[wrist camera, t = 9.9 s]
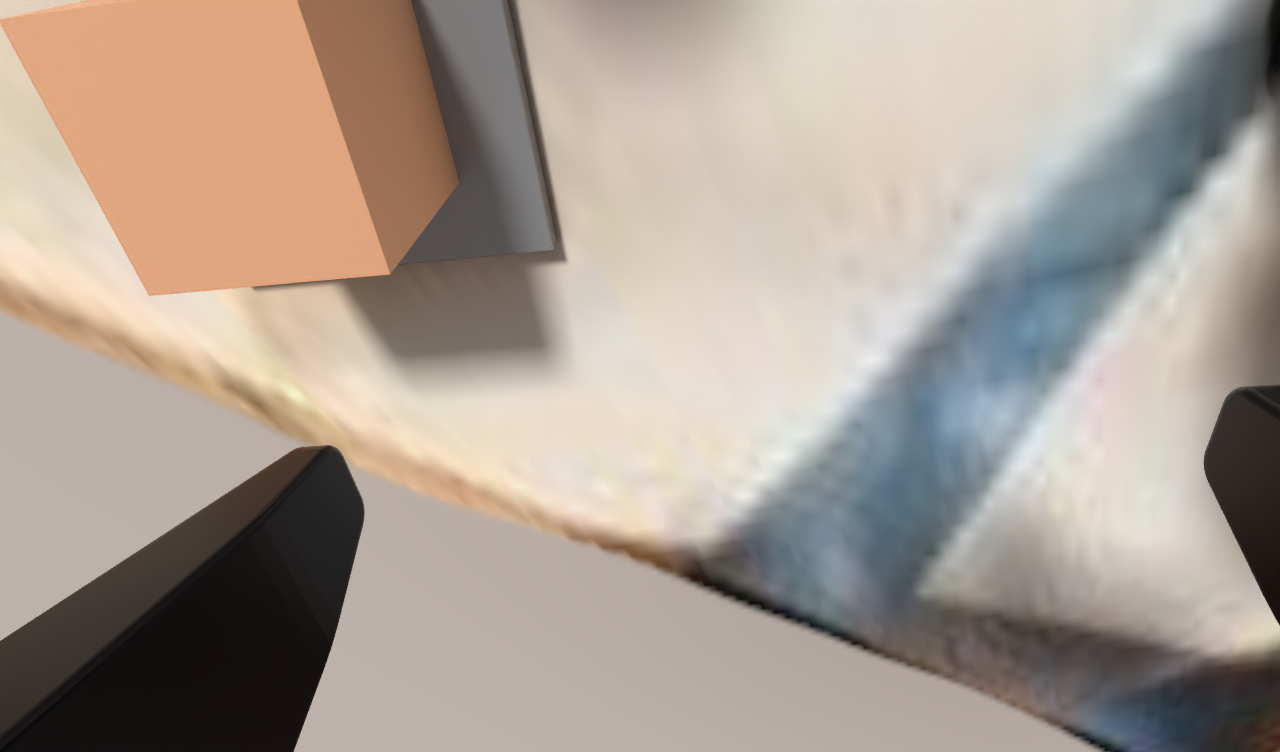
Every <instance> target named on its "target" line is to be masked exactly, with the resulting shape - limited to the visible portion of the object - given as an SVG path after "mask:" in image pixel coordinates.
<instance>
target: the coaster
mask: <svg viewBox="0 0 1280 752" xmlns="http://www.w3.org/2000/svg"><path fill="white" fill-rule="evenodd" d="M411 2H412V5H413V9H414V13H415V17H416V21H417V24H418V28H419V32H420V36H421V39H422V43H423V47H424V51H425V55H426V58H427V62H428V66H429V70H430V73H431V77H432V81H433V85H434V89H435V92H436V96H437V100H438V104H439V107H440V111H441V115H442V119H443V123H444V126H445V130H446V134H447V138H448V142H449V145H450V149H451V153H452V157H453V160H454V164H455V168H456V172H457V176H458V179H459V184H458V185H457V187H456V188H455V189H454V191H453V192H452V193H451V195H450V196H449V197H448V198H447V200H446V201H445V202H444V204H443V205H442V206H441V208H440V209H439V210H438V212H437V213H436V214H435V216H434V217H433V218H432V220H431V221H430V222H429V224H428V225H427V226H426V228H425V229H424V230H423V232H422V233H421V234H420V236H419V237H418V238H417V240H416V241H415V242H414V244H413V245H412V246H411V248H410V249H409V250H408V252H407V253H406V254H405V256H404V257H403V258H402V260H401V261H400V262H399V264H408V263H419V262H430V261H440V260H451V259H462V258H473V257H484V256H494V255H505V254H516V253H527V252H537V251H548V250H553V248H554V246H555V243H556V236H555V231H554V226H553V221H552V216H551V211H550V206H549V201H548V196H547V191H546V187H545V182H544V177H543V172H542V167H541V162H540V157H539V152H538V147H537V142H536V137H535V132H534V127H533V122H532V117H531V112H530V108H529V103H528V98H527V93H526V88H525V83H524V78H523V73H522V68H521V63H520V58H519V53H518V48H517V43H516V38H515V33H514V29H513V24H512V19H511V14H510V9H509V4H508V0H411Z"/></svg>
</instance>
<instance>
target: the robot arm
mask: <svg viewBox="0 0 1280 752" xmlns="http://www.w3.org/2000/svg"><path fill="white" fill-rule="evenodd" d="M1273 65H1274V67H1275V70H1276V72H1278V73H1279V74H1280V39H1279V42H1278V45H1277V48H1276V51H1275V54H1274V62H1273ZM1204 470H1205V474H1206V477H1207V480H1208V482H1209V484H1210V487H1211V489H1212V491H1213V493H1214V495H1215V497H1216V499H1217V501H1218V503H1219V505H1220V507H1221V509H1222V511H1223V513H1224V515H1225V517H1226V519H1227V522H1228V524H1229V526H1230V528H1231V530H1232V532H1233V534H1234V536H1235V538H1236V540H1237V542H1238V544H1239V546H1240V548H1241V550H1242V552H1243V554H1244V556H1245V559H1246V561H1247V563H1248V565H1249V567H1250V569H1251V571H1252V573H1253V575H1254V577H1255V579H1256V581H1257V583H1258V585H1259V587H1260V589H1261V591H1262V594H1263V596H1264V597H1265V599H1266V601H1267V603H1268V605H1269V607H1270V609H1271V611H1272V612H1273V614H1274V616H1275V618H1276V620H1277V622H1278V623H1279V625H1280V385H1264V386H1249V387H1240V388H1237V389H1235V390H1233V391H1232V392H1231V393H1230V394H1229V395H1228V396H1227V397H1226V399H1225V401H1224V403H1223V406H1222V408H1221V411H1220V414H1219V416H1218V419H1217V422H1216V424H1215V427H1214V430H1213V432H1212V435H1211V438H1210V440H1209V443H1208V446H1207V448H1206V451H1205V455H1204ZM363 522H364V504H363V500H362V497H361V495H360V492H359V490H358V488H357V486H356V484H355V481H354V479H353V477H352V475H351V472H350V470H349V468H348V466H347V463H346V461H345V459H344V457H343V455H342V453H341V452H340V451H339V450H338V449H337V448H336V447H333V446H330V445H325V446H309V447H300V448H296V449H294V450H292V451H291V452H289V453H288V454H286V455H285V456H283V457H282V458H280V459H279V460H277V461H275V462H274V463H272V464H271V465H269V466H268V467H266V468H265V469H263V470H262V471H260V472H259V473H257V474H256V475H254V476H252V477H251V478H249V479H248V480H246V481H245V482H243V483H242V484H240V485H239V486H237V487H236V488H234V489H233V490H231V491H230V492H228V493H227V494H225V495H223V496H222V497H220V498H219V499H217V500H216V501H214V502H213V503H211V504H210V505H208V506H207V507H205V508H204V509H202V510H200V511H199V512H197V513H196V514H194V515H193V516H191V517H190V518H188V519H187V520H185V521H184V522H182V523H181V524H179V525H177V526H176V527H174V528H173V529H171V530H170V531H168V532H167V533H165V534H164V535H162V536H160V537H159V538H158V539H156V540H154V541H153V542H151V543H150V544H148V545H147V546H145V547H144V548H142V549H141V550H139V551H138V552H136V553H134V554H133V555H131V556H130V557H128V558H127V559H125V560H124V561H122V562H121V563H119V564H118V565H116V566H114V567H113V568H111V569H110V570H108V571H107V572H106V573H104V574H102V575H101V576H99V577H98V578H96V579H95V580H93V581H91V582H90V583H88V584H87V585H85V586H84V587H82V588H81V589H79V590H78V591H76V592H75V593H73V594H72V595H70V596H69V597H67V598H66V599H64V600H62V601H61V602H59V603H58V604H56V605H55V606H53V607H52V608H50V609H49V610H47V611H46V612H44V613H43V614H41V615H39V616H38V617H36V618H35V619H33V620H32V621H30V622H29V623H27V624H26V625H24V626H23V627H21V628H19V629H18V630H16V631H15V632H13V633H12V634H10V635H9V636H7V637H6V638H4V639H3V640H1V641H0V752H294V749H295V746H296V744H297V741H298V738H299V735H300V733H301V730H302V727H303V725H304V722H305V719H306V716H307V714H308V711H309V708H310V705H311V703H312V700H313V697H314V694H315V692H316V689H317V687H318V684H319V681H320V678H321V676H322V673H323V670H324V667H325V664H326V662H327V659H328V656H329V653H330V650H331V647H332V644H333V640H334V637H335V633H336V629H337V626H338V622H339V618H340V614H341V610H342V606H343V602H344V598H345V594H346V591H347V587H348V582H349V579H350V575H351V571H352V567H353V563H354V559H355V555H356V551H357V547H358V542H359V539H360V534H361V531H362V527H363Z"/></svg>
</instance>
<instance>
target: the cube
mask: <svg viewBox="0 0 1280 752" xmlns="http://www.w3.org/2000/svg"><path fill="white" fill-rule="evenodd" d="M0 24H1V26H2V28H3V30H4V32H5V33H6V35H7V37H8V39H9V41H10V42H11V44H12V46H13V48H14V50H15V52H16V53H17V55H18V57H19V59H20V61H21V63H22V64H23V66H24V68H25V70H26V72H27V74H28V75H29V77H30V79H31V81H32V83H33V85H34V86H35V88H36V90H37V92H38V94H39V95H40V97H41V99H42V101H43V103H44V105H45V106H46V108H47V110H48V112H49V114H50V116H51V117H52V119H53V121H54V123H55V125H56V127H57V128H58V130H59V132H60V134H61V136H62V138H63V139H64V141H65V143H66V145H67V147H68V148H69V150H70V152H71V154H72V156H73V158H74V159H75V161H76V163H77V165H78V167H79V169H80V170H81V172H82V174H83V176H84V178H85V180H86V181H87V183H88V185H89V187H90V189H91V191H92V192H93V194H94V196H95V198H96V200H97V201H98V203H99V205H100V207H101V209H102V211H103V212H104V214H105V216H106V218H107V220H108V222H109V223H110V225H111V227H112V229H113V231H114V233H115V234H116V236H117V238H118V240H119V242H120V244H121V245H122V247H123V249H124V251H125V253H126V254H127V256H128V258H129V260H130V262H131V264H132V265H133V267H134V269H135V271H136V273H137V275H138V276H139V278H140V280H141V282H142V284H143V286H144V287H145V289H146V291H147V293H148V295H149V296H152V295H163V294H175V293H186V292H197V291H209V290H220V289H231V288H242V287H254V286H265V285H276V284H288V283H299V282H310V281H321V280H333V279H344V278H355V277H367V276H378V275H389V274H391V273H392V272H393V270H394V269H395V268H396V266H397V265H398V264H399V262H400V261H401V260H402V258H403V257H404V256H405V254H406V253H407V252H408V250H409V249H410V248H411V246H412V245H413V244H414V242H415V241H416V240H417V238H418V237H419V236H420V234H421V233H422V232H423V230H424V229H425V228H426V226H427V225H428V224H429V222H430V221H431V220H432V218H433V217H434V216H435V214H436V213H437V212H438V210H439V209H440V208H441V206H442V205H443V204H444V202H445V201H446V200H447V198H448V197H449V196H450V195H451V193H452V192H453V191H454V189H455V188H456V187H457V185H458V184H459V179H458V176H457V172H456V168H455V164H454V160H453V157H452V153H451V149H450V145H449V142H448V138H447V134H446V130H445V126H444V123H443V119H442V115H441V111H440V107H439V104H438V100H437V96H436V92H435V89H434V85H433V81H432V77H431V73H430V70H429V66H428V62H427V58H426V55H425V51H424V47H423V43H422V39H421V36H420V32H419V28H418V24H417V21H416V17H415V13H414V9H413V5H412V2H411V0H87V1H82V2H77V3H73V4H68V5H63V6H59V7H54V8H50V9H45V10H40V11H36V12H31V13H27V14H22V15H17V16H13V17H8V18H3V19H0Z"/></svg>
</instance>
